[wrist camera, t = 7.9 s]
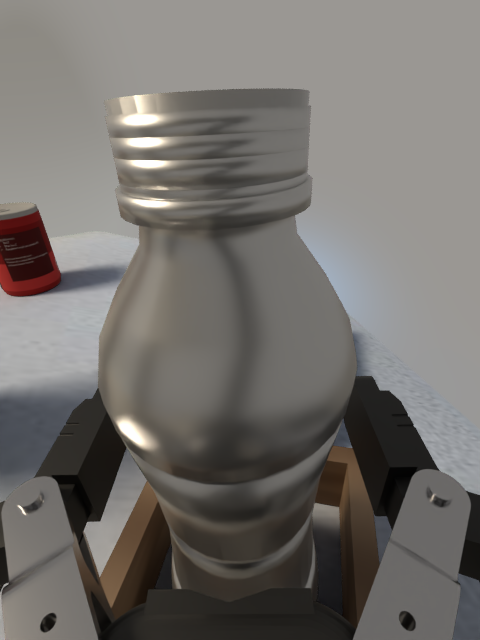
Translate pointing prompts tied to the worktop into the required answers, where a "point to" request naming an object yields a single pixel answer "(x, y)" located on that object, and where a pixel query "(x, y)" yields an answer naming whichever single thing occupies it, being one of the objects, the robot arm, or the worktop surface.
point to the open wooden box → (334, 489)
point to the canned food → (25, 251)
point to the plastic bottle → (225, 333)
